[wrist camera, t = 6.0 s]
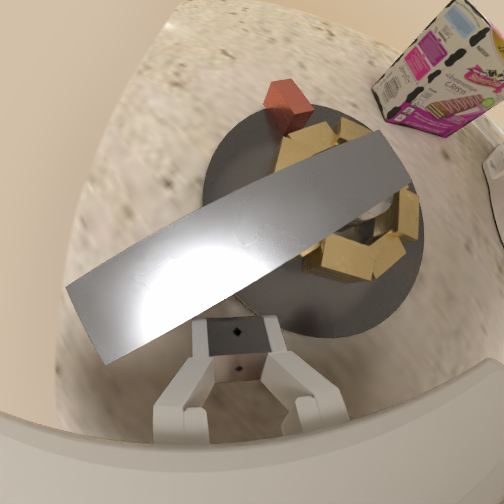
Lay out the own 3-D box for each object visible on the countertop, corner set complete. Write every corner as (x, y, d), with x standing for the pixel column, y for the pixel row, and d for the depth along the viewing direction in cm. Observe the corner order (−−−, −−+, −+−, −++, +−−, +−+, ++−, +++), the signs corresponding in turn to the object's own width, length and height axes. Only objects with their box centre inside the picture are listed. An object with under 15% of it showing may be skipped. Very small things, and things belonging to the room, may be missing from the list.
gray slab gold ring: (345, 125, 18) (412, 50, 10) (413, 235, 18) (509, 201, 9) (112, 232, 14) (29, 160, 5) (198, 385, 14) (200, 484, 5)
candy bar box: (385, 124, 22) (492, 25, 7) (369, 88, 23) (454, -11, 7) (447, 141, 25) (537, 80, 9) (433, 108, 25) (511, 44, 10)
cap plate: (312, 90, 21) (338, 46, 15) (433, 233, 21) (480, 217, 15) (148, 192, 17) (129, 147, 11) (316, 382, 17) (361, 411, 11)
